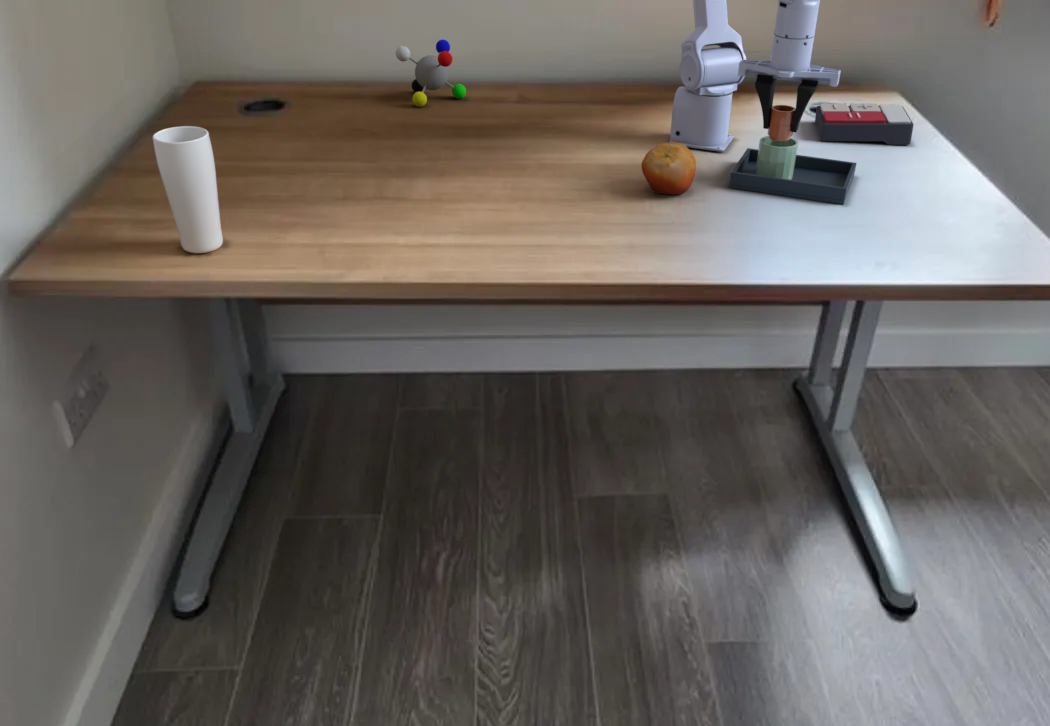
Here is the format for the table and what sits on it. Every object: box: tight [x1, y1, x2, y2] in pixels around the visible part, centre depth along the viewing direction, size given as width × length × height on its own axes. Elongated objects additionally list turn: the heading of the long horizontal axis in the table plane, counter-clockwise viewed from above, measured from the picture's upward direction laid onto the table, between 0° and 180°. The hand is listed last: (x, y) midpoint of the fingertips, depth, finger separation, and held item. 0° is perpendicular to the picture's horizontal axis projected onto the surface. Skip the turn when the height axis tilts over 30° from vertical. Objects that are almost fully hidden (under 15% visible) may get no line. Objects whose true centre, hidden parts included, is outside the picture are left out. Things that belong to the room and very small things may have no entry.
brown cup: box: [767, 104, 796, 141], centre depth 147 cm, size 4×4×4 cm
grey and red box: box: [814, 102, 915, 146], centre depth 170 cm, size 11×4×15 cm
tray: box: [728, 147, 858, 205], centre depth 151 cm, size 17×12×2 cm
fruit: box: [640, 142, 697, 195], centre depth 146 cm, size 8×8×8 cm
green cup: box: [755, 135, 799, 180], centre depth 150 cm, size 6×6×6 cm
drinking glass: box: [152, 125, 224, 254], centre depth 124 cm, size 7×7×15 cm
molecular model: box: [395, 39, 467, 108], centre depth 183 cm, size 11×13×10 cm
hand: (780, 128), depth 148 cm, fingers closed on brown cup, 3 cm apart
